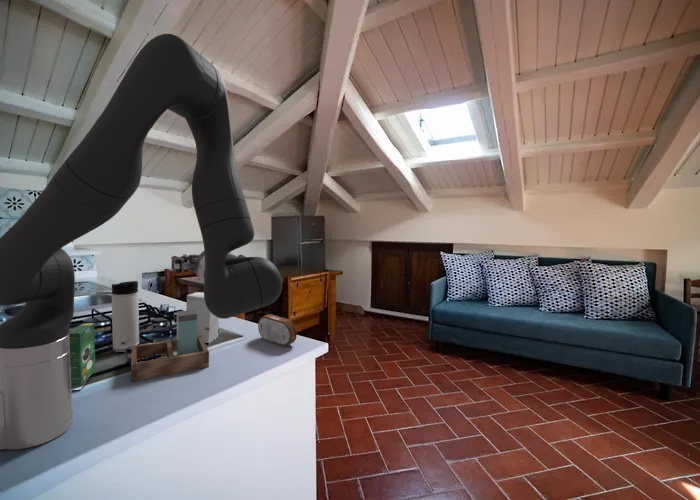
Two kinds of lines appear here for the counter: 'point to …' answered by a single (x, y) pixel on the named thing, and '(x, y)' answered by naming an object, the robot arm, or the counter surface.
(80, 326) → the coffee box
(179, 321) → the teal square bottle
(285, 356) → the counter surface
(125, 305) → the travel mug
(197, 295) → the skincare box
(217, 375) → the counter surface
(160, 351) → the caddy
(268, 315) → the tin
